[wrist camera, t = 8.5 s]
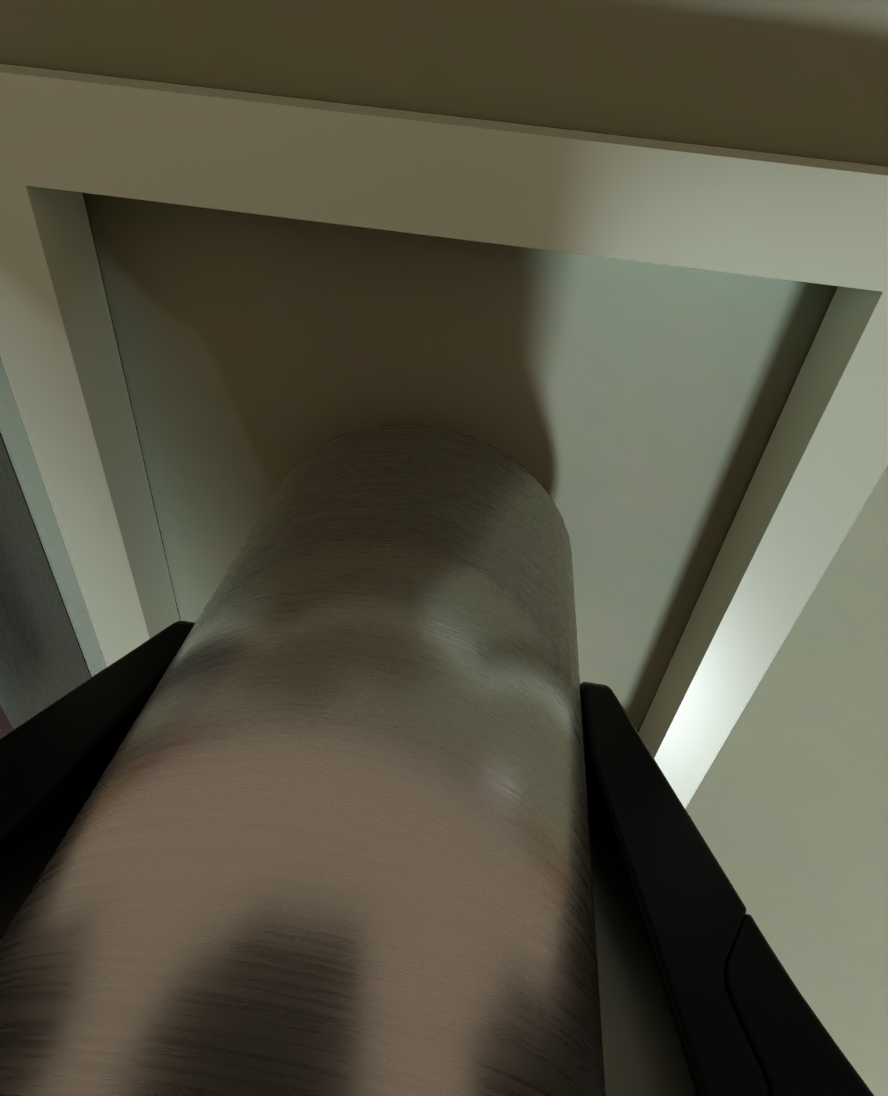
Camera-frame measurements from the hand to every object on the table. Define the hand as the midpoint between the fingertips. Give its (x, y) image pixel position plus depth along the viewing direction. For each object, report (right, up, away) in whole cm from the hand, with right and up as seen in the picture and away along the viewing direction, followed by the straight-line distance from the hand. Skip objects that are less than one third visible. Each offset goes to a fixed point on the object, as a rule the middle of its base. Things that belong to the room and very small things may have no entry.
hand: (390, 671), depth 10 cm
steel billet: (0, +2, +2) cm, 3 cm away
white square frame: (0, +2, +3) cm, 4 cm away
